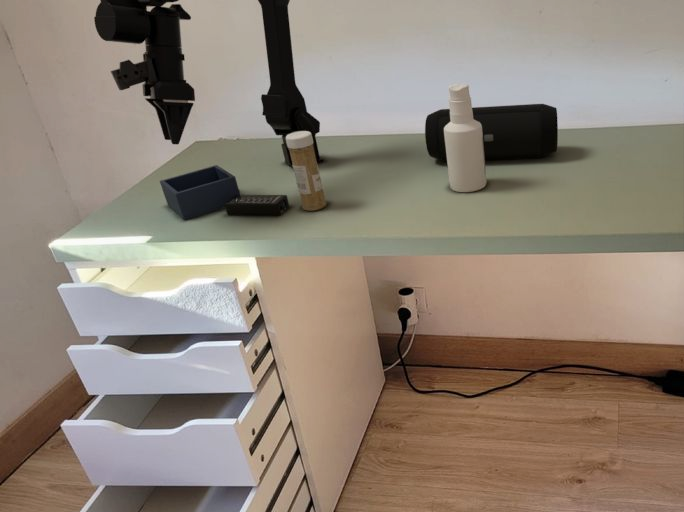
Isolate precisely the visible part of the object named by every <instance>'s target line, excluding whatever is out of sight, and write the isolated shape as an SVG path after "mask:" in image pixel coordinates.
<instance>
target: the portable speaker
mask: <svg viewBox="0 0 684 512" xmlns="http://www.w3.org/2000/svg"><path fill="white" fill-rule="evenodd" d="M472 110H473V119H474V120H476V121H478V122H480V123H481V125H482V133H483V145H484V157H485V161H492V160H493V161H494V160H515V159H516V160H517V159H537V158H544V157H546V156H548V155H551V154H553V153H555V152H557V151H558V141H559V140H558V138H559V131H558V130H559V127H558V125H559V124H558V123H559V121H558V109H557V107H555V106H552V105H550V104H549V105H548V104H546V103H529V104H510V105H495V106H494V105H493V106H492V105H491V106H475V107H472ZM449 122H451V120H450V108H441V109H438V110H436V111H434V112H432V113H429V114H427V116H426V118H425V123H424V137H425V138H424V139H425V145H426V150H427V151H426V152H427V153H428V155H429V157H431V158H433V159H436V160H440V161H442V162H443V161H444V162H447V155H446V146H445V137H444V127H445V126H446V125H447V124H448V123H449Z"/></svg>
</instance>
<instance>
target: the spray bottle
mask: <svg viewBox="0 0 684 512" xmlns="http://www.w3.org/2000/svg"><path fill="white" fill-rule="evenodd" d="M448 93H449V97H448V98H449V99H448V107H449V109H450V120H451V122H449V123H448V124H447V125H446V126H445V127H444V137H445V146H446V155H447V161H446V162H447V173H448V180H449V187H450V189H451V190H452V191H454V192H457V193H471V192H476V191H480V190H481V189H483V188H485V187H486V185H487V182H488V181H487V172H486V171H487V170H486V160H485V157H484V145H483V133H482V125H481V123H480V122H478V121H476V120H474V119H473V110H472V108H473V105H472V97H471V94H470V87H469V84H468V83H455V84H454V83H453V84H451V85H449V86H448Z"/></svg>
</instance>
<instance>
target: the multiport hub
mask: <svg viewBox="0 0 684 512" xmlns="http://www.w3.org/2000/svg"><path fill="white" fill-rule="evenodd" d="M224 205H225V211H226V215H227V216H245V217H246V216H249V217H251V216H252V217H253V216H254V217H255V216H256V217H257V216H258V217H261V216H262V217H279V216H281V215H283V214H284V213H285V212H286V211H287V210H288V209H289V208H290V203H289V200H288V195H287V194H240V195H235V196H233V197H232V198H231V199H229V200H228V201H227V202H225V203H224Z"/></svg>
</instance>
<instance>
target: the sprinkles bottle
mask: <svg viewBox="0 0 684 512" xmlns="http://www.w3.org/2000/svg"><path fill="white" fill-rule="evenodd" d="M286 143H287V147H288V149H289V151H290V155H291V160H292V165H293V167H292V169H293V173H294V179H295V181H296V185H297V189H298V192H299V197H300V200H301V208H302V209H303V210H305V211H307V212H309V211H310V212H313V211H318V210H319V211H320V210H322V209H323V208H325V207H326V206H327V205H328V203H327V199H326V197H325V192H324V188H323V182H322V178H321V174H320V173H321V172H320V170H319V165H318V163H317V161H316V157H315V152H314V148H313V138H312V134H311V132H309V131H298V132H293V133H290V134H288V135H287V136H286Z"/></svg>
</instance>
